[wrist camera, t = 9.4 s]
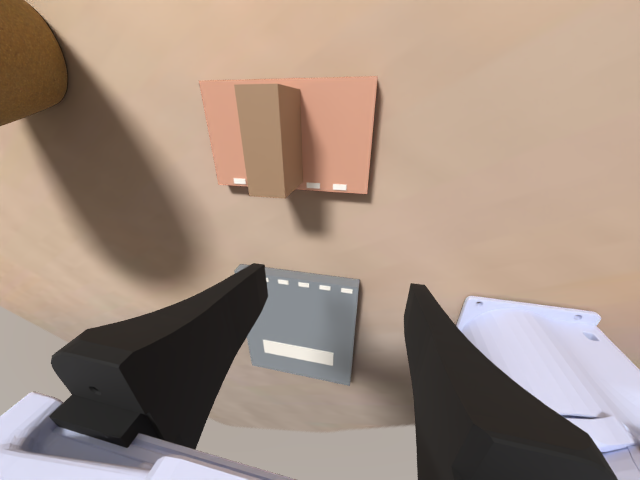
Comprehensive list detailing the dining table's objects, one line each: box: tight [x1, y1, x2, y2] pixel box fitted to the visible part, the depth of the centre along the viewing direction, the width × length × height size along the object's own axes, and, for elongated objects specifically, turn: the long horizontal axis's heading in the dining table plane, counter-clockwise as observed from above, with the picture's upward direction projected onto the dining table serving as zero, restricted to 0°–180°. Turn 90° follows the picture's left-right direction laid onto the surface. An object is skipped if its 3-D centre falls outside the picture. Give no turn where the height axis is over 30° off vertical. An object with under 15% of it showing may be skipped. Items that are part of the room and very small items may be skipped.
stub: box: [199, 76, 378, 198], centre depth 16 cm, size 12×7×5 cm, turn 89°
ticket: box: [234, 264, 360, 386], centre depth 27 cm, size 12×14×1 cm
